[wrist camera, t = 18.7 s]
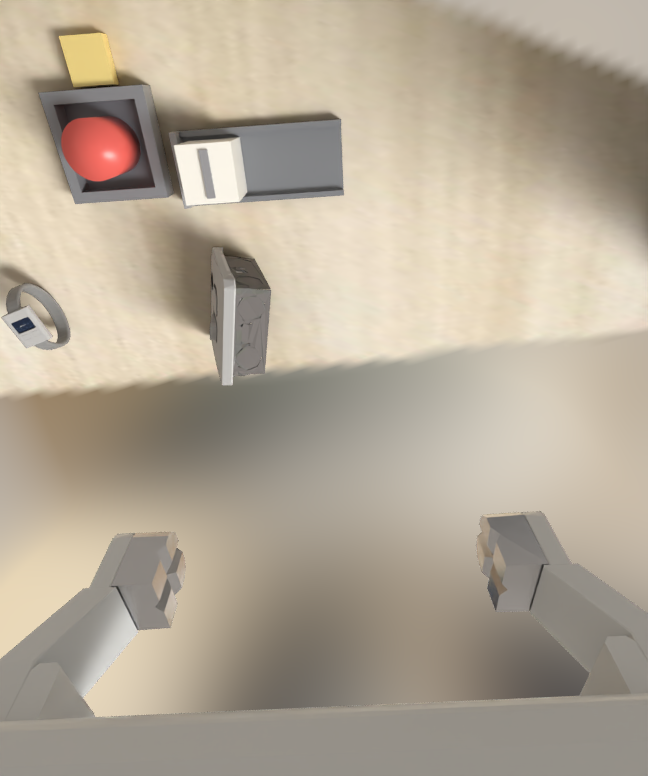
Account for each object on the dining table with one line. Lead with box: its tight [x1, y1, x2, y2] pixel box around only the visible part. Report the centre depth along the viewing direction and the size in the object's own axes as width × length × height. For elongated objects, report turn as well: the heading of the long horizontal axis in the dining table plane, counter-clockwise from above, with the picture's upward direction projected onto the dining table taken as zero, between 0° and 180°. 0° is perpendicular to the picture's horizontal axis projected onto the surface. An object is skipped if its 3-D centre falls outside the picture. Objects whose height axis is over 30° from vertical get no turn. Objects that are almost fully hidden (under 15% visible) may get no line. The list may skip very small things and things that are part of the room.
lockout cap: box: [61, 116, 141, 181], centre depth 34 cm, size 4×4×4 cm
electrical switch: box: [210, 247, 271, 385], centre depth 40 cm, size 9×5×9 cm, turn 172°
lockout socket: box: [39, 33, 174, 204], centre depth 35 cm, size 8×11×2 cm
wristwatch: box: [1, 283, 70, 350], centre depth 42 cm, size 6×3×5 cm, turn 21°
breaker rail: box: [169, 119, 344, 209], centre depth 36 cm, size 13×5×2 cm, turn 94°
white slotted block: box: [174, 137, 247, 206], centre depth 35 cm, size 4×4×5 cm
